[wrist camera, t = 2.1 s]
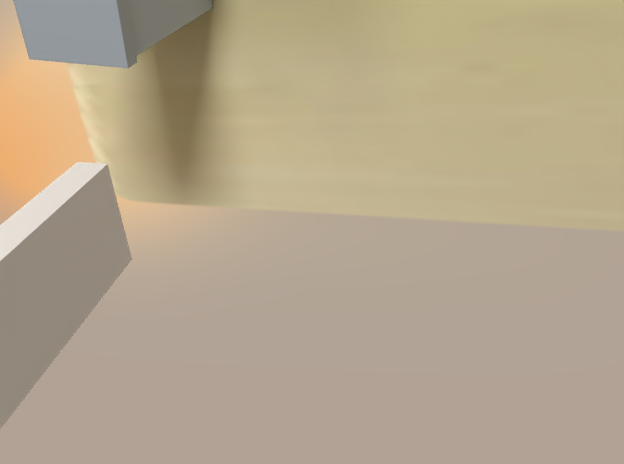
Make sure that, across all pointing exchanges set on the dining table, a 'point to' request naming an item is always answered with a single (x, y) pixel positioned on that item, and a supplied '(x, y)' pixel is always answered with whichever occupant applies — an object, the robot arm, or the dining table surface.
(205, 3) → the grey notched block
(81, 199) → the robot arm
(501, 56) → the dining table surface
